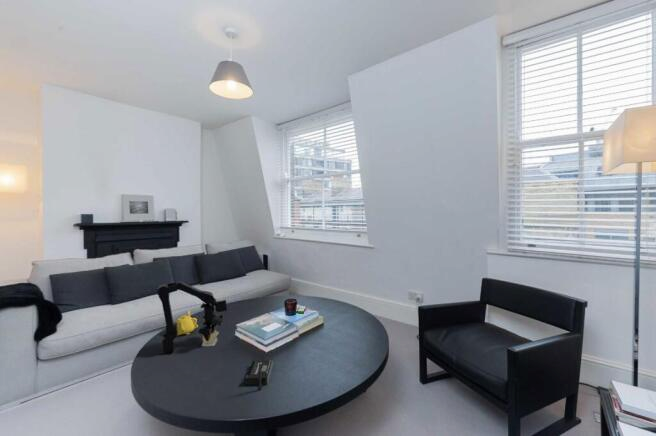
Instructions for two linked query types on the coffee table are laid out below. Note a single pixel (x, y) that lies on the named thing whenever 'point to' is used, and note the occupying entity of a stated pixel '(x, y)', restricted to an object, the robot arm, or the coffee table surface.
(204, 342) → the brushed brass cube
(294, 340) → the coffee table surface
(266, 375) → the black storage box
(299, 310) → the puzzle cube
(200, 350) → the coffee table surface
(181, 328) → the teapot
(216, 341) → the hammer
